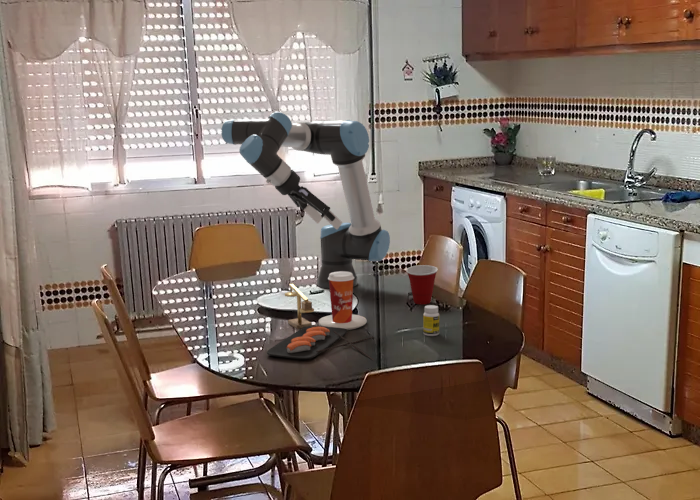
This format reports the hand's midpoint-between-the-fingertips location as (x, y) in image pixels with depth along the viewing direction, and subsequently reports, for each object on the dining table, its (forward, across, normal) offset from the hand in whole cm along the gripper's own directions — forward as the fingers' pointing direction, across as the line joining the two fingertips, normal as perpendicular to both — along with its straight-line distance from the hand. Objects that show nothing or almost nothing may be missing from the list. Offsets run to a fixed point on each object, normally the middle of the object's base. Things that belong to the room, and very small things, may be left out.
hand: (329, 223), depth 248 cm
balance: (+15, -2, -30) cm, 33 cm away
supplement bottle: (+36, +27, -9) cm, 46 cm away
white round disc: (+24, +4, -21) cm, 32 cm away
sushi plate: (+15, +24, -31) cm, 42 cm away
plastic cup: (+48, -5, +3) cm, 49 cm away
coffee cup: (+23, +4, -21) cm, 31 cm away
